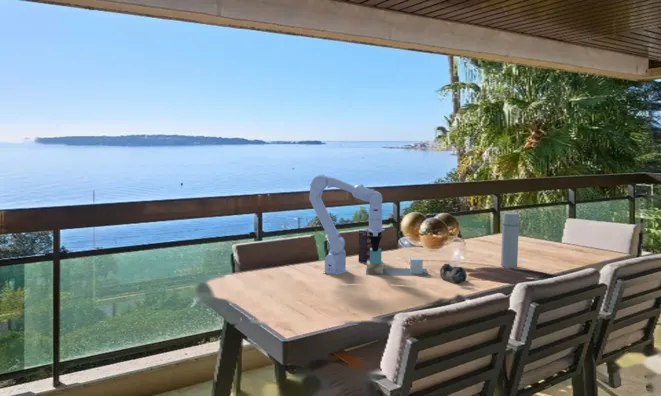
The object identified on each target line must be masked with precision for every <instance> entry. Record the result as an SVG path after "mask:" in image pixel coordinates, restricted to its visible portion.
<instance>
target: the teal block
mask: <svg viewBox="0 0 661 396" xmlns="http://www.w3.org/2000/svg"><path fill="white" fill-rule="evenodd" d="M381 261H382V247H379V248H378V252H373V250H372V248H370V264H381Z"/></svg>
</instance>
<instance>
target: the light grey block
mask: <svg viewBox="0 0 661 396" xmlns="http://www.w3.org/2000/svg"><path fill="white" fill-rule="evenodd" d="M423 261H424V260H423V257H415V256H414V257H412V256H411V257H410V258H409V269H410V272H411V273H415V274H422V269H424V267H423Z"/></svg>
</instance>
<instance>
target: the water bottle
mask: <svg viewBox="0 0 661 396" xmlns="http://www.w3.org/2000/svg"><path fill="white" fill-rule="evenodd" d="M519 215H520V213H518V212H504V213H503V215H502V216H503V218H502V222H501V225H502V229H501V255H500V258H501V260H500V265H501V266H502V267H503V268H504V269H505V268H506V269H516V268H517V267H518V258H519V257H518V255H519V253H518V251H519V231H520V228H519V225H520V216H519Z"/></svg>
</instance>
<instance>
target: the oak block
mask: <svg viewBox="0 0 661 396" xmlns="http://www.w3.org/2000/svg"><path fill="white" fill-rule="evenodd" d="M366 268H367V273H380V274H383V268H384V261H383V260H381V264H370V261H367V263H366Z"/></svg>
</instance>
